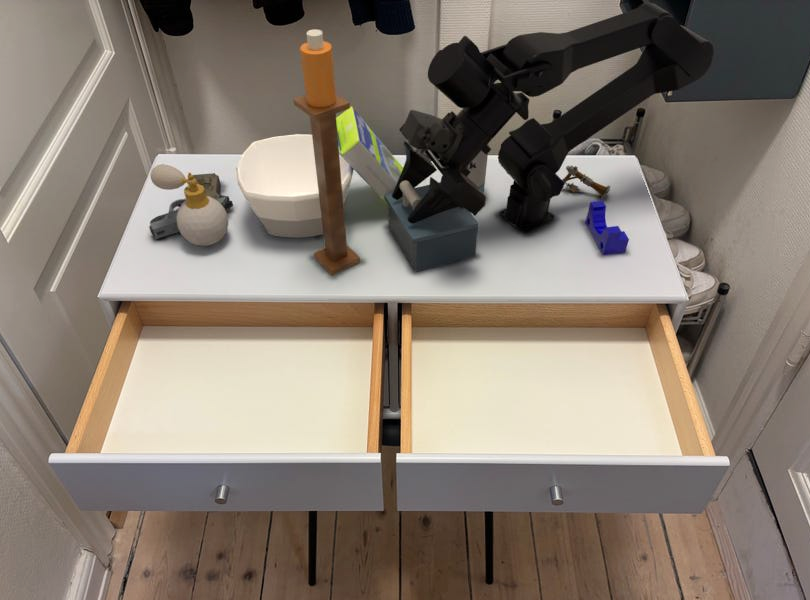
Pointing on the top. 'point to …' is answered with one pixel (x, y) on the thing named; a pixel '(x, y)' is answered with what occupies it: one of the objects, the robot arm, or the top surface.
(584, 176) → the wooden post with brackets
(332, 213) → the stand
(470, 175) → the beverage can
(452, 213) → the lid
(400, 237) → the compartment
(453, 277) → the top surface
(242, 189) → the bowl
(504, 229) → the top surface
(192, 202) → the perfume bottle
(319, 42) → the detergent bottle
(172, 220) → the handgun
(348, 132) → the box
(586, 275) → the top surface
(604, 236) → the cable holder
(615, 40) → the robot arm
